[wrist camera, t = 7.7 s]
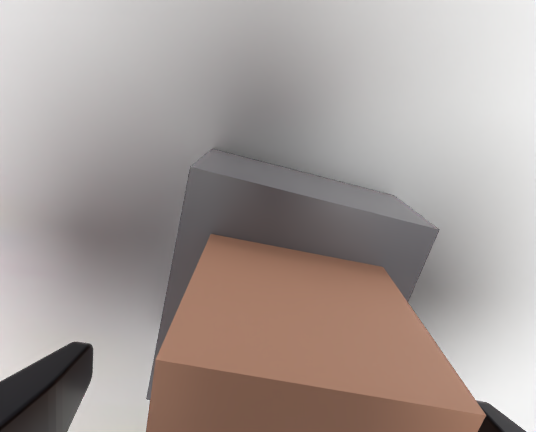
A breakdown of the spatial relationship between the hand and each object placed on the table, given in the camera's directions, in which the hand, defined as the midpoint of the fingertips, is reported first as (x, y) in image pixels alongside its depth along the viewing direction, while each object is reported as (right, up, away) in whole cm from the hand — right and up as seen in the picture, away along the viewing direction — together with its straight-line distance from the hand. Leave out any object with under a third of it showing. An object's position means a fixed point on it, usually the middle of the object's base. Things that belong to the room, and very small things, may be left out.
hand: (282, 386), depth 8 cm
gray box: (0, +2, +6) cm, 6 cm away
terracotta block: (0, +1, +2) cm, 3 cm away
